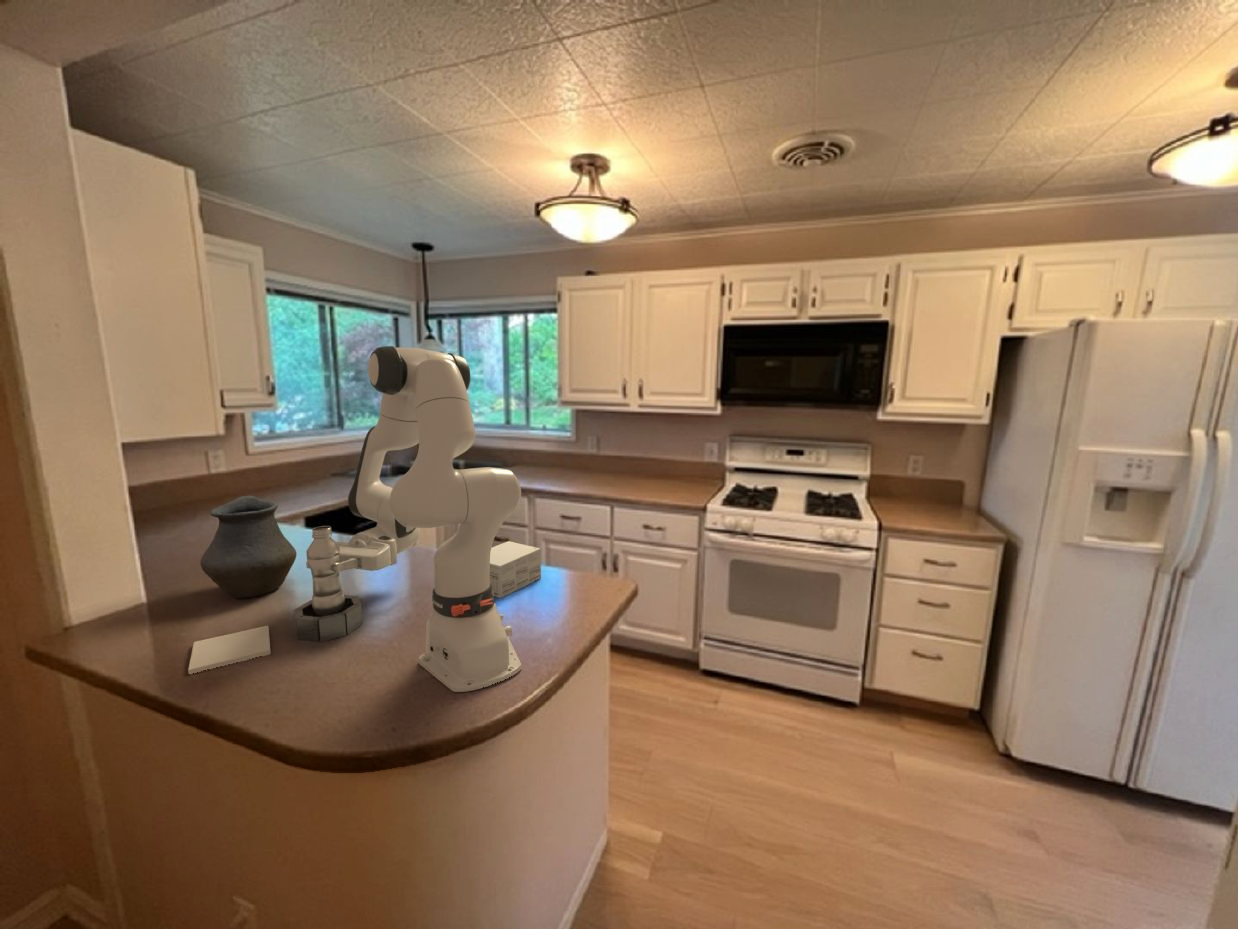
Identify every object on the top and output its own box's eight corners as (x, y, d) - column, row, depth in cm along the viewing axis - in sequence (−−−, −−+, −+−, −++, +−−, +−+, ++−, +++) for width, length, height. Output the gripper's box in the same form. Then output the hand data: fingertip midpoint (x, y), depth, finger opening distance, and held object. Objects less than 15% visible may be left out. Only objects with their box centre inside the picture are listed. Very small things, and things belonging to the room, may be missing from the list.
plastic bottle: (352, 607, 118) (345, 525, 114) (328, 620, 111) (320, 533, 108) (330, 604, 119) (322, 523, 116) (305, 617, 113) (297, 531, 110)
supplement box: (508, 569, 154) (508, 540, 152) (541, 578, 147) (541, 548, 146) (465, 588, 140) (464, 555, 138) (500, 599, 133) (499, 565, 131)
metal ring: (366, 630, 115) (364, 609, 114) (299, 647, 107) (296, 625, 106) (356, 609, 125) (354, 590, 124) (294, 623, 117) (292, 603, 117)
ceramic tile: (270, 654, 104) (270, 649, 104) (188, 674, 96) (188, 670, 96) (268, 629, 114) (268, 625, 114) (194, 646, 107) (194, 642, 107)
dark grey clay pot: (202, 615, 121) (189, 515, 117) (207, 586, 138) (197, 498, 134) (302, 595, 133) (293, 504, 129) (296, 570, 150) (288, 489, 146)
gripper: (333, 533, 128) (284, 549, 115) (400, 539, 123) (357, 557, 109) (335, 556, 129) (286, 575, 116) (402, 564, 124) (359, 585, 110)
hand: (321, 567), depth 113 cm, fingers closed on plastic bottle, 6 cm apart
